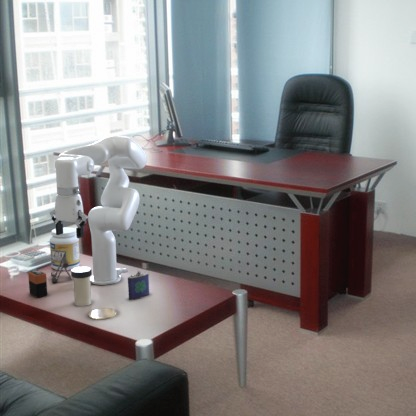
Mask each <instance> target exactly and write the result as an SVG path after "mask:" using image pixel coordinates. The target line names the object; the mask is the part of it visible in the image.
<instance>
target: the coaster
mask: <svg viewBox="0 0 416 416" xmlns="http://www.w3.org/2000/svg"><path fill="white" fill-rule="evenodd" d="M117 314H118V312H117V310H116V309H113V308H109V307H108V308H107V307H103V308H96V309H94V310H91V311H89V312H88V314H87V315H88V317H89V318H90V319H92V320H96V321H97V320H109V319H112V318H114V317H115V316H117Z"/></svg>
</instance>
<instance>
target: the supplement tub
mask: <svg viewBox="0 0 416 416" xmlns="http://www.w3.org/2000/svg"><path fill="white" fill-rule="evenodd" d="M50 233H51V236H50V237H49V249H50V265H51V268H52V269H54V270H55V271H57V269H58V266H59V264H60V262H61V259H62V258H63V257H66V258H67V262H68V265H69V266H68V267H67V268H66V269H67V270H68V271H71V270H72V269H73V268H76V267H80V266H81V255H80V254H81V253H80V252H81V251H80V238H77V235H76V228H75V227H70V226H69V227H68V226H66V227H65V226H63V234H60V235H56V228H53V229H52V230H51V232H50ZM61 267H62V263H61V265H60V268H59V270H58V271H60V269H61ZM62 271H66V270H65V268H63V269H62Z"/></svg>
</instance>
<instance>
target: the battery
mask: <svg viewBox="0 0 416 416" xmlns="http://www.w3.org/2000/svg"><path fill="white" fill-rule="evenodd" d="M27 275H28V276H27V277H28V288H29V289H28V290H29V294H30V295H32V296H34V297H35V298H36V299H37V298H42V297H46V296H48V282H47V273H45V272H43V271H42V270H39V269H37V268H33V269H32V270H31V271H28V274H27Z"/></svg>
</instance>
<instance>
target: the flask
mask: <svg viewBox="0 0 416 416" xmlns="http://www.w3.org/2000/svg"><path fill="white" fill-rule="evenodd" d="M149 275H150V274H149V272H143V273H142V272H141V271H140V270H137V273H136V274H134V275H132V274H130V275H129V276H128V277H127V289H128V291H127V292H128V300H129V301H133V300H134V301H135V300H138V299H141V298H142V299H143V298H145V297H148V296H149V295H150V277H149Z"/></svg>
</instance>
